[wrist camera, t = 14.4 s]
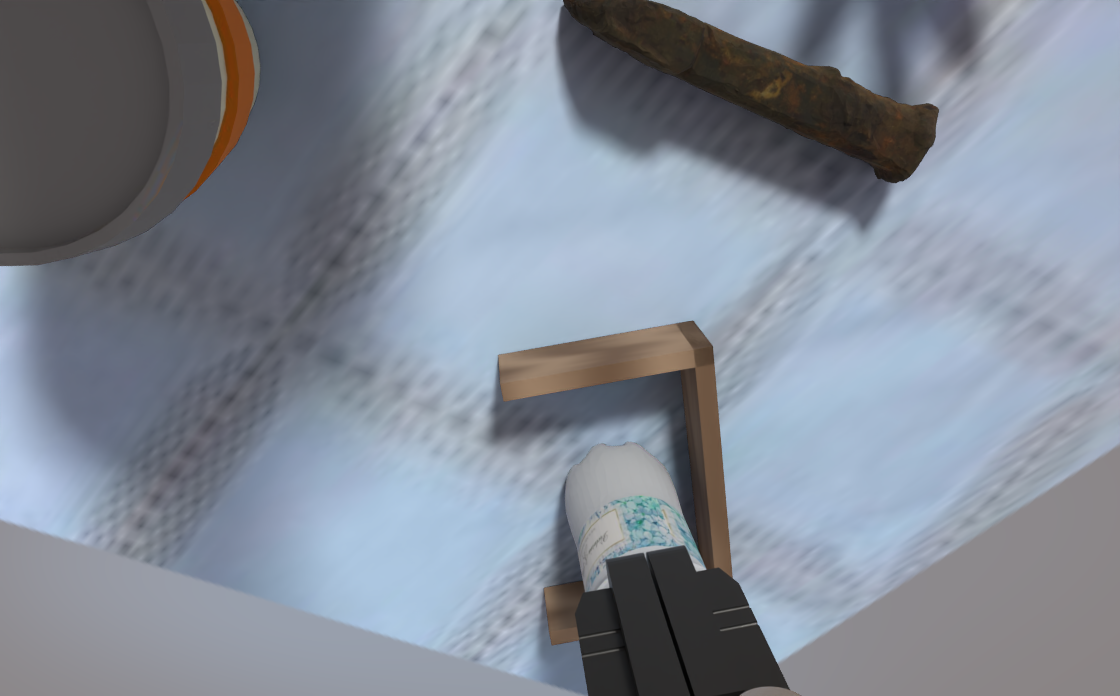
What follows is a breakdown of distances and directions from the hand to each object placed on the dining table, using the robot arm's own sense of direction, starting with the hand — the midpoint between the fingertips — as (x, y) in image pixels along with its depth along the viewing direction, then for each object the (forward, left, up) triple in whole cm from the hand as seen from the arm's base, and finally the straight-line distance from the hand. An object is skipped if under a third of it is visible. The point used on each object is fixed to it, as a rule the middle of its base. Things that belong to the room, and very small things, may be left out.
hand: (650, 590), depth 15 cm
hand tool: (+3, +12, -30) cm, 32 cm away
